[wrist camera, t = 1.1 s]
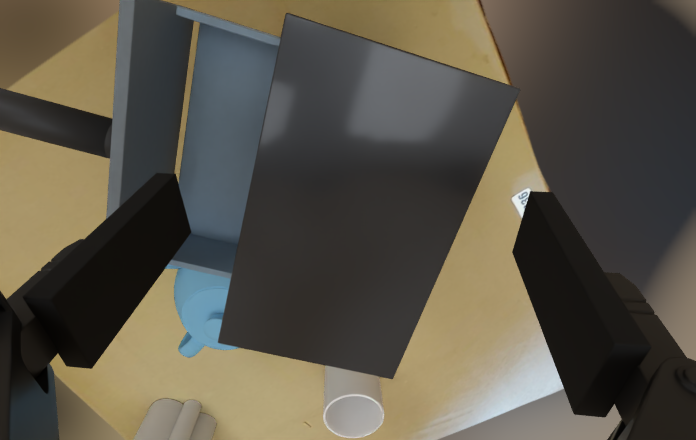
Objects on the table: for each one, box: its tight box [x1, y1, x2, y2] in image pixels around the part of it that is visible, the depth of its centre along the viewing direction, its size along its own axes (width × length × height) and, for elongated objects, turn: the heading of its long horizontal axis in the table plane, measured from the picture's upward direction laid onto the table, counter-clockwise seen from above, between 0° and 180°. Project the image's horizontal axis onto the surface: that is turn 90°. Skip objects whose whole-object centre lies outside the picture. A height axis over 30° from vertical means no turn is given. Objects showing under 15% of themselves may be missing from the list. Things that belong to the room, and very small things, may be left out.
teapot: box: [165, 264, 239, 357], centre depth 51 cm, size 20×20×13 cm
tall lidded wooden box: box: [218, 13, 520, 379], centre depth 34 cm, size 10×16×33 cm, turn 164°
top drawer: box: [0, 0, 281, 279], centre depth 22 cm, size 20×14×7 cm
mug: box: [323, 365, 384, 438], centre depth 58 cm, size 12×8×12 cm
